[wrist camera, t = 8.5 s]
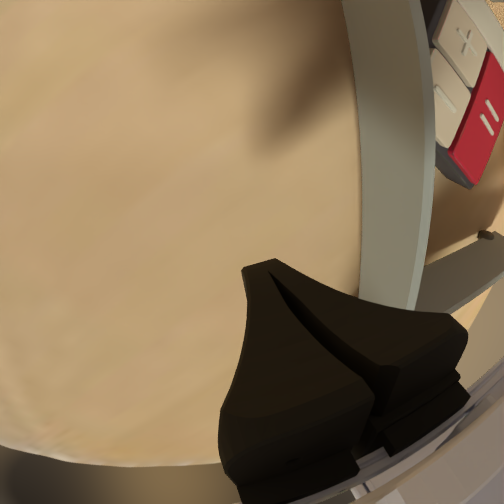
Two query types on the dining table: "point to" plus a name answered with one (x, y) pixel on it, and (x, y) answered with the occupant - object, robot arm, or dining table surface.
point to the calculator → (465, 84)
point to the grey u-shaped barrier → (405, 167)
